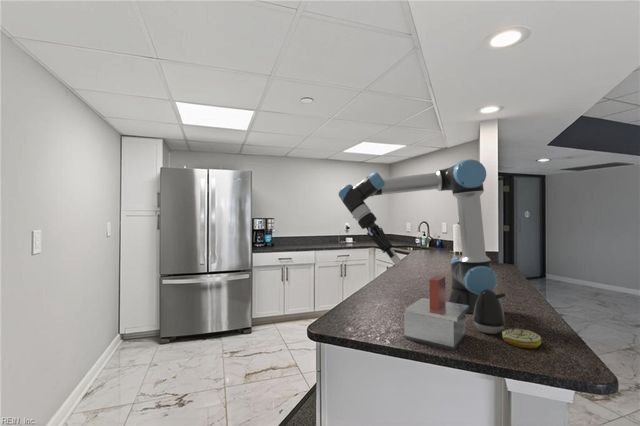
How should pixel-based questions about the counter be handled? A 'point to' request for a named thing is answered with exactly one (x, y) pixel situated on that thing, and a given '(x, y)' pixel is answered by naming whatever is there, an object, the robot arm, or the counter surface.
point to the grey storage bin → (434, 330)
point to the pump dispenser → (489, 312)
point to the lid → (438, 303)
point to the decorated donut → (521, 338)
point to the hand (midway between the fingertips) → (398, 263)
